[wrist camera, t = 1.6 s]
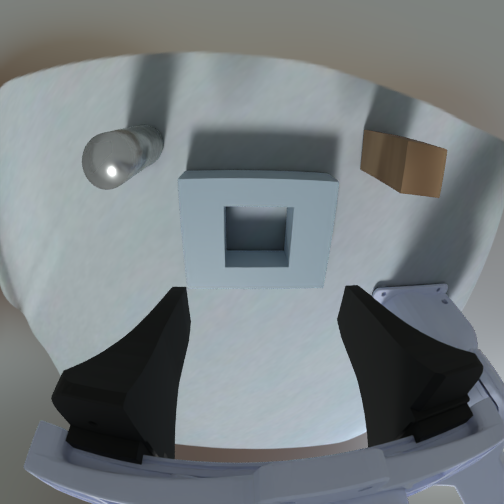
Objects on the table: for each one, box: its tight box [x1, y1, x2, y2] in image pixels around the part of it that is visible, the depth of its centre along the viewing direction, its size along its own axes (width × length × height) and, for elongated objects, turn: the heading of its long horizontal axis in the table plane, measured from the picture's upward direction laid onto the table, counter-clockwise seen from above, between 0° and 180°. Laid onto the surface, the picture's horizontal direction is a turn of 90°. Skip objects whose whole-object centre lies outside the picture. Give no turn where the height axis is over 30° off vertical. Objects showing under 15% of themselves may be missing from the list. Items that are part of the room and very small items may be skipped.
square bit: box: [360, 130, 447, 198], centre depth 16 cm, size 3×3×6 cm
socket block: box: [178, 170, 339, 289], centre depth 20 cm, size 10×8×2 cm
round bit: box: [82, 125, 163, 190], centre depth 15 cm, size 3×3×6 cm
